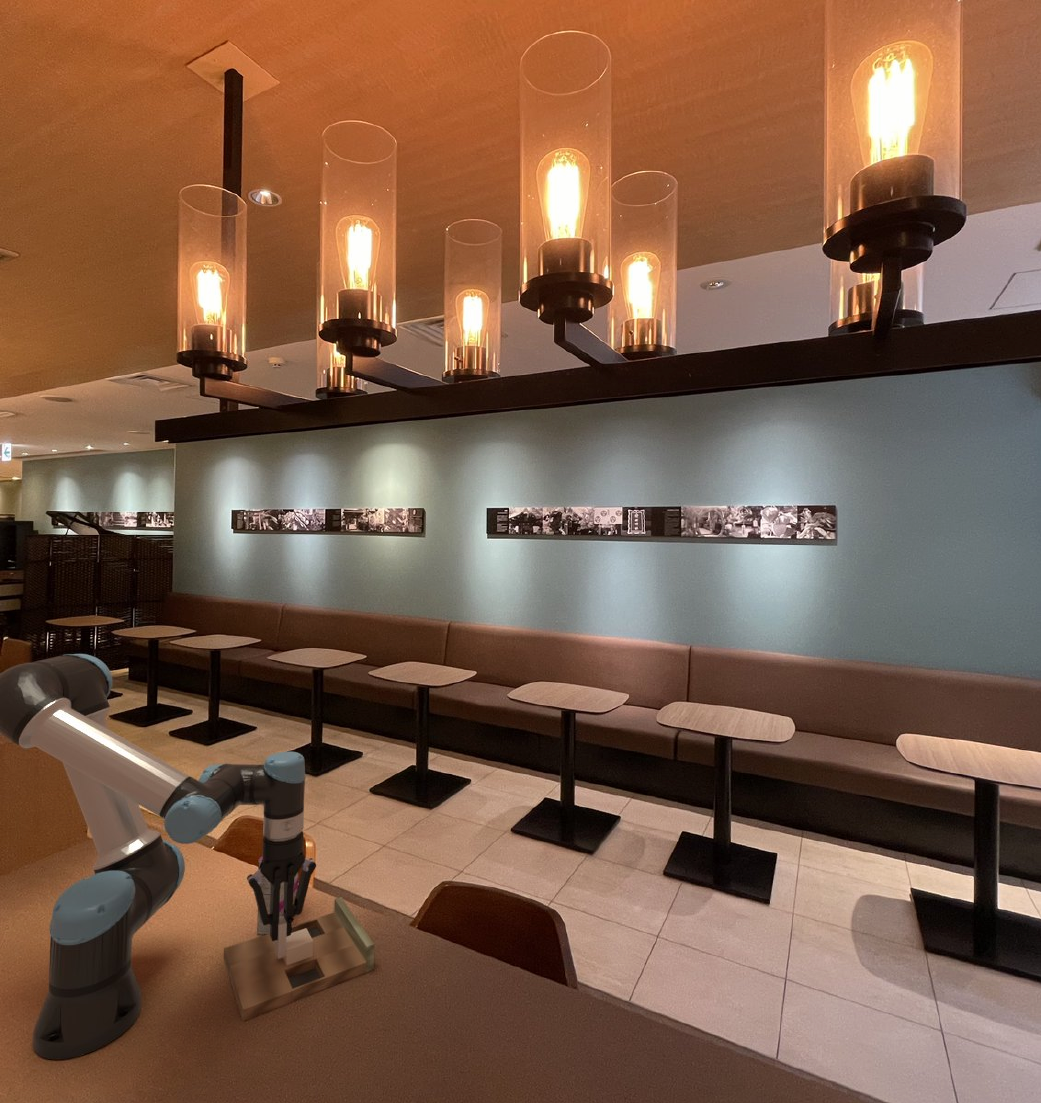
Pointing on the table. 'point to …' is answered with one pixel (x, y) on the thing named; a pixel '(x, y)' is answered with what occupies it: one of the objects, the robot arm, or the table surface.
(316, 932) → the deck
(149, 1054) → the table surface
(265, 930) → the candy bar box
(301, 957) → the block
